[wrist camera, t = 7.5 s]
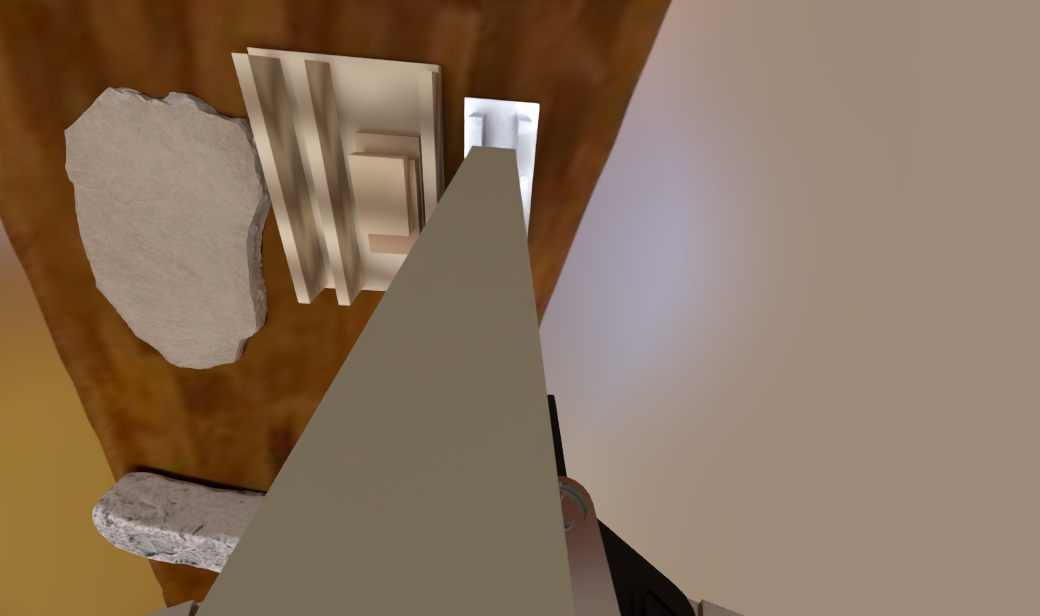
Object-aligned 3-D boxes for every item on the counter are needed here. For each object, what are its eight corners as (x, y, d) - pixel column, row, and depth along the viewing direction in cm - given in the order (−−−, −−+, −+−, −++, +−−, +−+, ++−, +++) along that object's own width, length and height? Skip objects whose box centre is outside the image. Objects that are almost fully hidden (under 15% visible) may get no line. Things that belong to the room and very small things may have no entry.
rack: (258, 49, 28) (209, 41, 24) (441, 66, 29) (428, 62, 25) (313, 280, 39) (286, 306, 34) (447, 287, 40) (439, 314, 35)
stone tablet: (282, 126, 32) (266, 129, 30) (264, 374, 46) (253, 388, 44) (53, 37, 28) (16, 33, 26) (110, 335, 42) (89, 348, 40)
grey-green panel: (472, 145, 14) (-123, 1148, 1) (515, 148, 14) (636, 1093, 1) (470, 386, 20) (402, 943, 7) (500, 387, 20) (487, 938, 7)
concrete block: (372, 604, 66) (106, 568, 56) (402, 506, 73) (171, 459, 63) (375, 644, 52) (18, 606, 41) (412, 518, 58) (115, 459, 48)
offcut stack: (360, 130, 30) (339, 136, 26) (422, 135, 31) (409, 142, 27) (375, 244, 35) (359, 264, 31) (428, 248, 36) (418, 267, 32)
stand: (466, 97, 31) (457, 99, 25) (538, 103, 31) (544, 106, 25) (466, 253, 38) (459, 282, 32) (524, 257, 38) (527, 286, 32)
